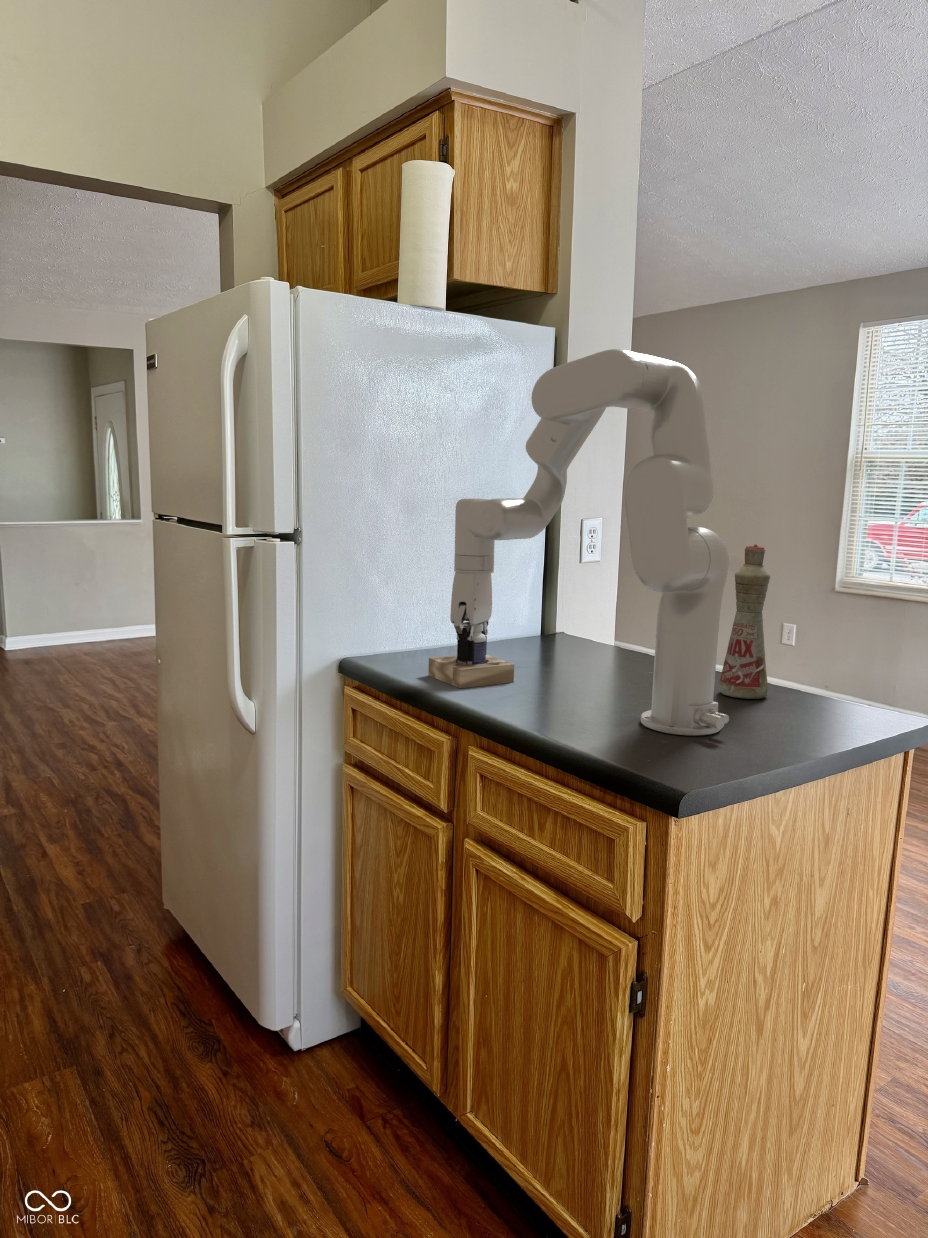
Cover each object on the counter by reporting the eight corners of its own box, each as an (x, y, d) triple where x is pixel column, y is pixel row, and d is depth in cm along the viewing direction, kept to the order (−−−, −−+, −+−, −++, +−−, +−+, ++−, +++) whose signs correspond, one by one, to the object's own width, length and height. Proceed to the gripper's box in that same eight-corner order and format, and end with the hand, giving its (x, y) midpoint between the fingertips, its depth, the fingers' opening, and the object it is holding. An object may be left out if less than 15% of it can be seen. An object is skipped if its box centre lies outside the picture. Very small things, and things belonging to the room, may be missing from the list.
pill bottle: (486, 670, 173) (487, 621, 171) (484, 676, 167) (485, 625, 166) (458, 669, 173) (460, 620, 172) (455, 675, 168) (457, 624, 166)
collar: (513, 682, 168) (514, 664, 168) (459, 688, 162) (460, 669, 162) (480, 669, 179) (480, 652, 178) (428, 675, 172) (428, 657, 172)
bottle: (779, 697, 162) (792, 545, 157) (745, 703, 157) (757, 546, 152) (741, 687, 169) (753, 541, 164) (708, 692, 164) (719, 542, 160)
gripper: (473, 559, 176) (471, 648, 179) (436, 566, 161) (435, 663, 163) (508, 562, 173) (506, 652, 176) (474, 568, 158) (472, 668, 160)
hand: (471, 656), depth 170 cm, fingers open, 5 cm apart
